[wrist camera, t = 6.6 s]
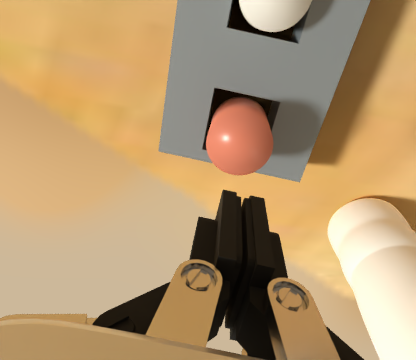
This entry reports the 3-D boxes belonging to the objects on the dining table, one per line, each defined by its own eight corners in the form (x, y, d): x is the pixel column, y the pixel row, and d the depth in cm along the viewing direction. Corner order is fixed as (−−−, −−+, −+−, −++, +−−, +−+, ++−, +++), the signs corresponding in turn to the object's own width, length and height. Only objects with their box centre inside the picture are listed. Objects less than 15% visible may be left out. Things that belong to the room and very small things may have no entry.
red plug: (274, 103, 23) (282, 120, 19) (258, 156, 25) (262, 181, 21) (217, 91, 23) (213, 105, 19) (206, 144, 25) (200, 167, 21)
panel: (366, -41, 21) (391, -55, 17) (292, 162, 28) (299, 182, 25) (198, -79, 21) (190, -100, 17) (168, 135, 28) (158, 151, 25)
